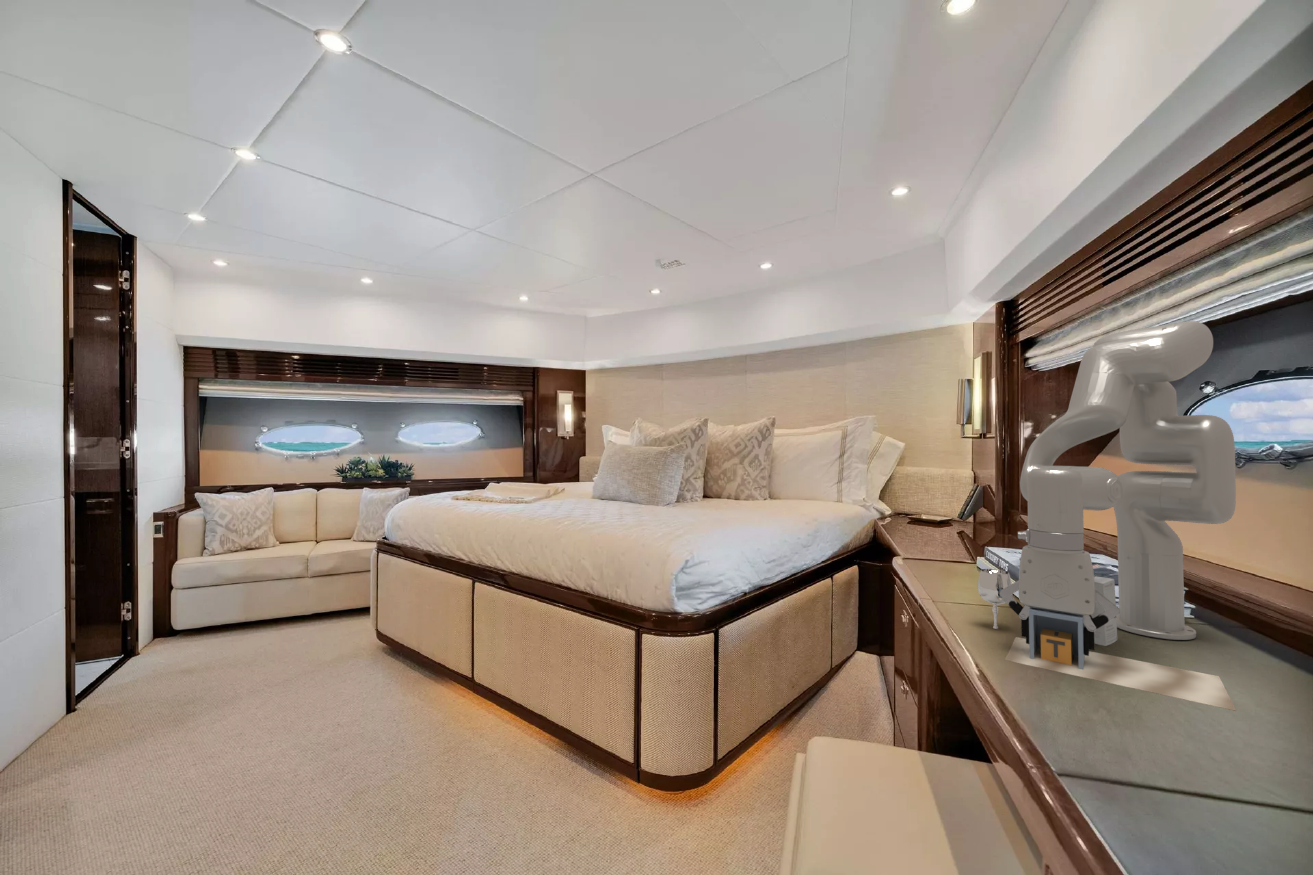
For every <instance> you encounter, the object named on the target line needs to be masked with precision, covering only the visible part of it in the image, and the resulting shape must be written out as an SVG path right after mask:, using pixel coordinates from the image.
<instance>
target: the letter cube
mask: <svg viewBox="0 0 1313 875" xmlns="http://www.w3.org/2000/svg"><path fill="white" fill-rule="evenodd" d="M1072 658H1073V652H1072V634H1071V633H1066V632H1060V631H1055V630H1049V629H1042V632H1041V659H1045V660H1050V661H1054V662H1059V663H1064V664H1069V665H1072Z"/></svg>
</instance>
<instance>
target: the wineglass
mask: <svg viewBox="0 0 1313 875" xmlns="http://www.w3.org/2000/svg"><path fill="white" fill-rule="evenodd" d="M977 581H978V582H977V591H978V594H979V597H980V598H981V599H983V600H984V601H985V602H988V603H989V604H992V605H993V606H992V613H993V627H992V628H993V629H996V630H998V629H999V626H998V614H999V607H998V606H999V605H1004V604H1006V602H1005V600H1004V599H1003V598H1002V597H1001V596H1000V594H999V593H1000V591H1001V590H1003V589H1004V588H1006V587H1008V586H1010V585H1011V584H1013V583H1012V579H1011V575H1010V572H1008V571H1005V570H1002V569H995V568H982V569H980V572H979V575H978V580H977Z"/></svg>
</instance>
